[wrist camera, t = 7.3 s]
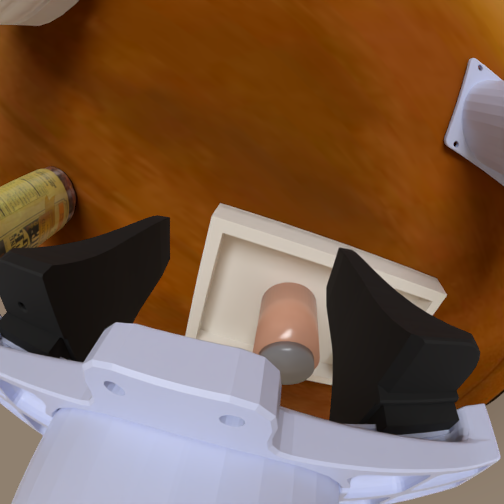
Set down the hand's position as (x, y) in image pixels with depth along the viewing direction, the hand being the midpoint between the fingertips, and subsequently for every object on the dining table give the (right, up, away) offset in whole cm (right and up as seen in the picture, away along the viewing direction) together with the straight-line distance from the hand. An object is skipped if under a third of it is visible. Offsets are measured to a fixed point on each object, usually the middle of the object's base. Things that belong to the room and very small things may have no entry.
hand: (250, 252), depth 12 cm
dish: (+5, -5, +14) cm, 15 cm away
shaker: (+3, -4, +13) cm, 14 cm away
